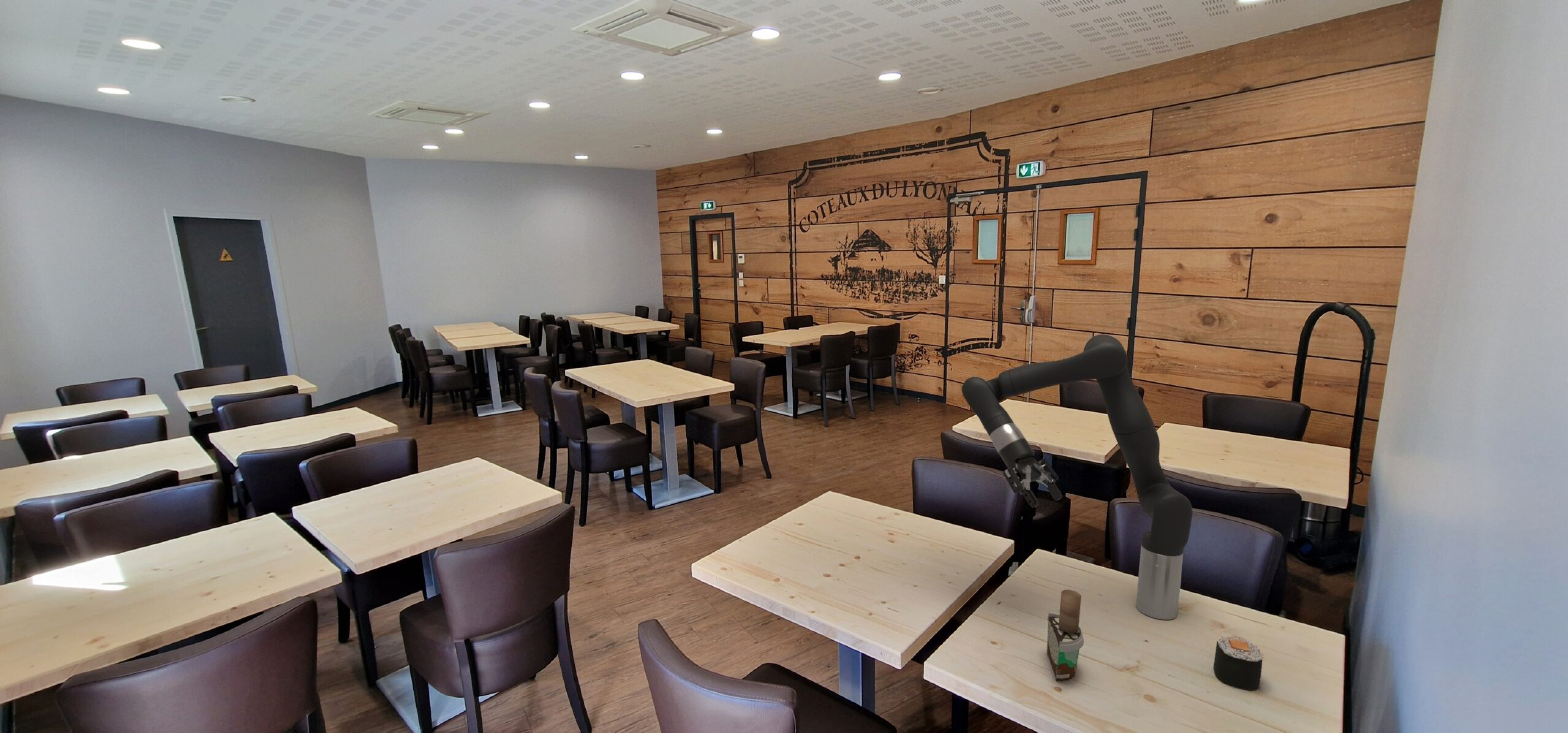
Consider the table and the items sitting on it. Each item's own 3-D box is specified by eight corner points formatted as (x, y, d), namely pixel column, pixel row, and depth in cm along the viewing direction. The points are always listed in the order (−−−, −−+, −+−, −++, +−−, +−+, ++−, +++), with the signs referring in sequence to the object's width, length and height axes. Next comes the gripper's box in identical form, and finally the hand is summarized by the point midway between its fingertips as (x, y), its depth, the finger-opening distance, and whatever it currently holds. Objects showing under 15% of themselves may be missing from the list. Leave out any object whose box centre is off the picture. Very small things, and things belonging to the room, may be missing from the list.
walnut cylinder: (1066, 621, 141) (1069, 588, 139) (1082, 630, 137) (1085, 596, 136) (1054, 626, 139) (1057, 592, 137) (1070, 635, 135) (1073, 601, 134)
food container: (1088, 689, 133) (1091, 646, 131) (1057, 685, 134) (1060, 643, 133) (1073, 654, 145) (1076, 614, 143) (1045, 651, 146) (1048, 611, 144)
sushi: (1217, 684, 134) (1221, 650, 133) (1210, 662, 141) (1214, 630, 140) (1264, 695, 131) (1268, 660, 129) (1254, 671, 138) (1258, 638, 137)
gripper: (1000, 441, 152) (1038, 501, 144) (1039, 433, 159) (1077, 489, 151) (983, 457, 157) (1018, 515, 149) (1021, 448, 164) (1056, 503, 157)
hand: (1047, 502), depth 150 cm, fingers open, 8 cm apart
